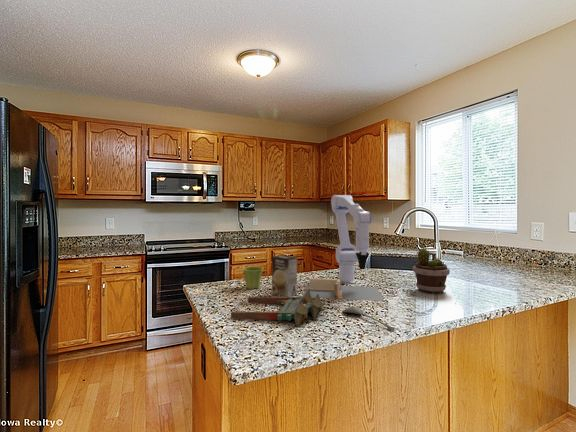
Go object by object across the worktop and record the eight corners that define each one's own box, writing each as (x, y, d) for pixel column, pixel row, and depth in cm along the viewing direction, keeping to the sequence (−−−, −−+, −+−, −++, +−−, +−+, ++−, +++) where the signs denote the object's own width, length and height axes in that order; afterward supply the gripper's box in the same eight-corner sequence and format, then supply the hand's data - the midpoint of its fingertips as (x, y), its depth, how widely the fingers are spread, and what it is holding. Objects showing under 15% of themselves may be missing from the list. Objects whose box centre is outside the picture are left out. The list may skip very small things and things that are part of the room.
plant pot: (259, 290, 139) (259, 271, 139) (239, 289, 142) (239, 269, 141) (266, 285, 148) (266, 267, 148) (247, 284, 151) (247, 266, 150)
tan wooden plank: (337, 289, 138) (337, 278, 138) (340, 289, 137) (340, 278, 137) (334, 297, 126) (334, 284, 126) (337, 297, 126) (337, 284, 126)
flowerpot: (455, 291, 139) (456, 246, 139) (439, 297, 130) (439, 248, 129) (423, 285, 151) (423, 243, 150) (406, 290, 141) (406, 245, 140)
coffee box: (270, 294, 133) (271, 256, 133) (280, 291, 138) (281, 254, 138) (287, 298, 127) (288, 258, 127) (297, 295, 132) (297, 256, 132)
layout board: (306, 285, 149) (306, 273, 148) (376, 288, 144) (376, 275, 144) (302, 298, 127) (302, 284, 127) (384, 302, 122) (384, 287, 122)
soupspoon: (353, 311, 115) (338, 315, 112) (352, 302, 115) (338, 306, 112) (400, 330, 95) (384, 335, 92) (400, 319, 95) (384, 323, 92)
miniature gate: (251, 290, 127) (326, 289, 121) (252, 304, 127) (327, 303, 121) (225, 311, 100) (320, 311, 95) (226, 329, 100) (321, 329, 95)
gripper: (373, 240, 133) (373, 272, 133) (369, 237, 147) (369, 266, 148) (356, 239, 134) (356, 271, 134) (354, 236, 148) (353, 265, 149)
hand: (362, 268), depth 141 cm, fingers closed
